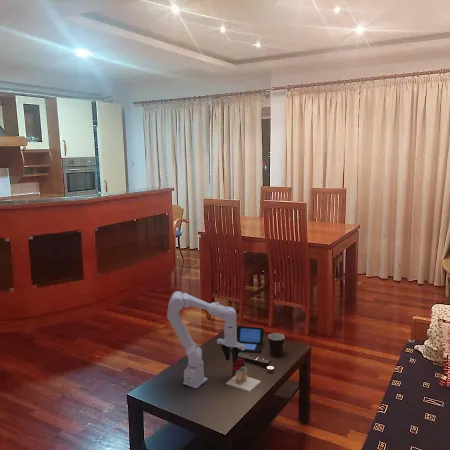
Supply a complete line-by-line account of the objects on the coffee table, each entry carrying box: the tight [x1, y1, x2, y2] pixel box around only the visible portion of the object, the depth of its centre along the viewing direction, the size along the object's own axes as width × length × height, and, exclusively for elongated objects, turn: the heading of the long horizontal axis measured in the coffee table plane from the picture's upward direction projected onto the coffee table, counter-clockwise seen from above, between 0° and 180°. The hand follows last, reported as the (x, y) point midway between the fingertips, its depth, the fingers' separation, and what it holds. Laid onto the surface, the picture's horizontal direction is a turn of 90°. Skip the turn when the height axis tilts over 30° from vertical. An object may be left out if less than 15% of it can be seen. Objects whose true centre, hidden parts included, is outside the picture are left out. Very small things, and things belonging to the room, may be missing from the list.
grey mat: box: [225, 374, 262, 393], centre depth 198 cm, size 10×13×1 cm
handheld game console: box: [232, 325, 265, 354], centre depth 235 cm, size 16×13×9 cm
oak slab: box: [235, 366, 248, 385], centre depth 198 cm, size 6×2×6 cm, turn 146°
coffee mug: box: [267, 332, 285, 358], centre depth 226 cm, size 12×9×10 cm
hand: (231, 360), depth 200 cm, fingers open, 3 cm apart
